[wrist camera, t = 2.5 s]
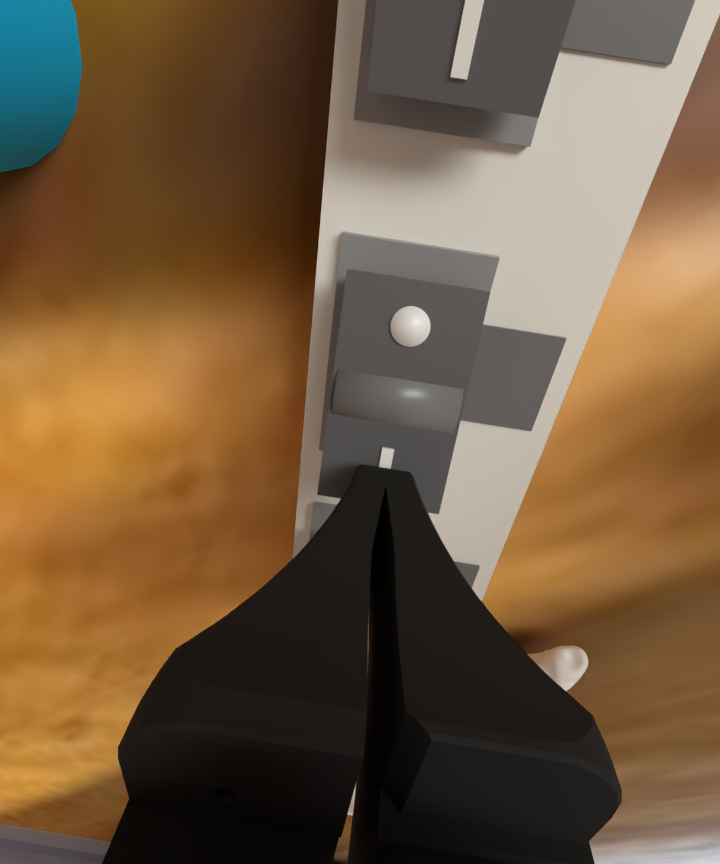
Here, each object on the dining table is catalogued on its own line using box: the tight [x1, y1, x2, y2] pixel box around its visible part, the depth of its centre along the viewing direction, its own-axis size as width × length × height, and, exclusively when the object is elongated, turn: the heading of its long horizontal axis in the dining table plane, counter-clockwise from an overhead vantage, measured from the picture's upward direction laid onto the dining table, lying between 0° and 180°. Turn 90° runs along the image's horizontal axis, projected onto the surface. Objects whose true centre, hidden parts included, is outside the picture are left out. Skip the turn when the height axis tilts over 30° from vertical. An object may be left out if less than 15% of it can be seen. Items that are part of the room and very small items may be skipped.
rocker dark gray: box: [317, 269, 490, 514], centre depth 12 cm, size 3×6×2 cm, turn 172°
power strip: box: [293, 0, 720, 601], centre depth 14 cm, size 8×34×5 cm, turn 172°
